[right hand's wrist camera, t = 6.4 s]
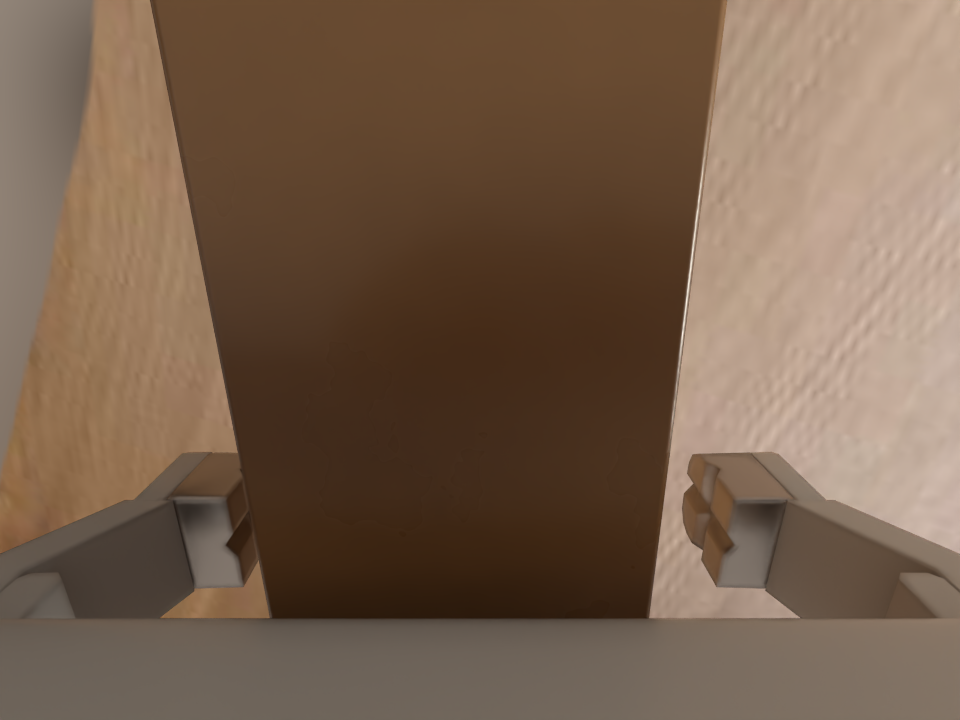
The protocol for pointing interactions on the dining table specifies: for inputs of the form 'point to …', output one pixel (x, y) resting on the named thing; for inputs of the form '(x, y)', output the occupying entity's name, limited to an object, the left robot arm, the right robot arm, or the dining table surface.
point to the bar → (448, 287)
